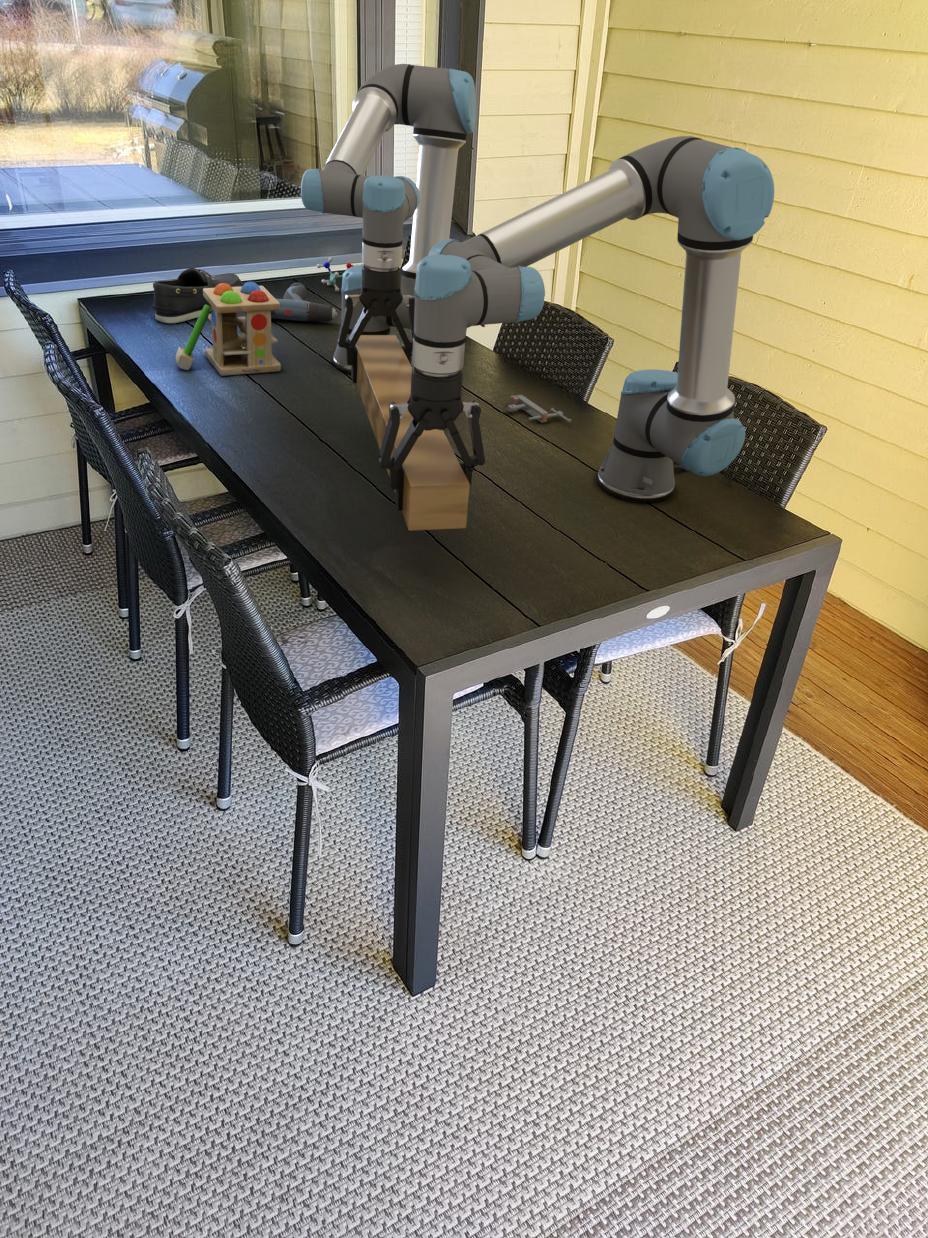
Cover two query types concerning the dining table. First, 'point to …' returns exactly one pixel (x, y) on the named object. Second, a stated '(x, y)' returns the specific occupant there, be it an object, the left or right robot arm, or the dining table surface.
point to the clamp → (526, 405)
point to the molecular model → (333, 276)
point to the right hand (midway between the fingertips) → (429, 505)
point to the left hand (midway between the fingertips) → (378, 380)
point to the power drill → (301, 307)
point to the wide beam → (431, 464)
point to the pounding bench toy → (229, 347)
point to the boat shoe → (186, 294)
